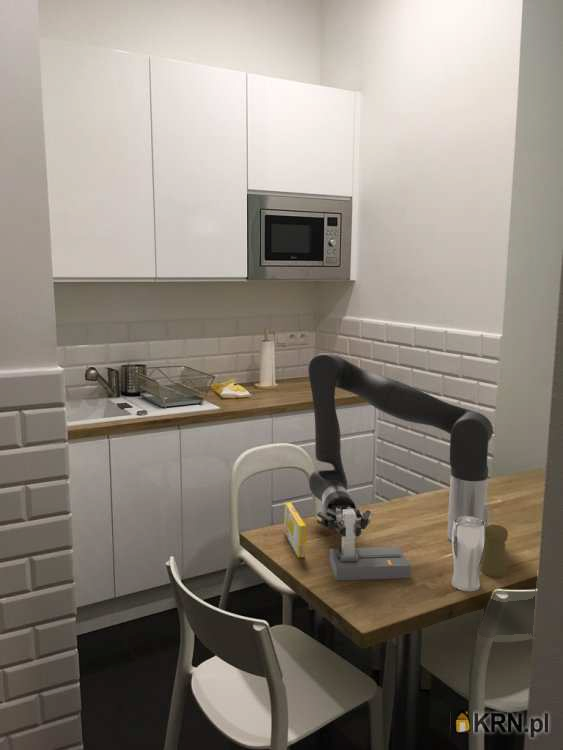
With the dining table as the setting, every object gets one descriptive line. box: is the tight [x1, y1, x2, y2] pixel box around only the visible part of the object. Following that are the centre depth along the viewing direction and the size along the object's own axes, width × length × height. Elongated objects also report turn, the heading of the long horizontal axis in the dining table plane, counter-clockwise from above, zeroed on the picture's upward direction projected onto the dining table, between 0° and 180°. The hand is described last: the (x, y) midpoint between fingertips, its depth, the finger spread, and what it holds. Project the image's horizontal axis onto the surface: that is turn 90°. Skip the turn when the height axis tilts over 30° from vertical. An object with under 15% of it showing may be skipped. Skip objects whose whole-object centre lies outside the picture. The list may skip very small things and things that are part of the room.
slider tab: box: [337, 509, 359, 562], centre depth 148 cm, size 4×5×11 cm
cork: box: [479, 524, 509, 578], centre depth 148 cm, size 6×6×11 cm
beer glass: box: [451, 516, 486, 593], centre depth 141 cm, size 7×7×15 cm
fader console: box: [328, 546, 412, 581], centre depth 150 cm, size 17×10×3 cm, turn 95°
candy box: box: [283, 502, 307, 559], centre depth 163 cm, size 16×2×8 cm, turn 12°
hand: (351, 532), depth 145 cm, fingers closed on slider tab, 2 cm apart
